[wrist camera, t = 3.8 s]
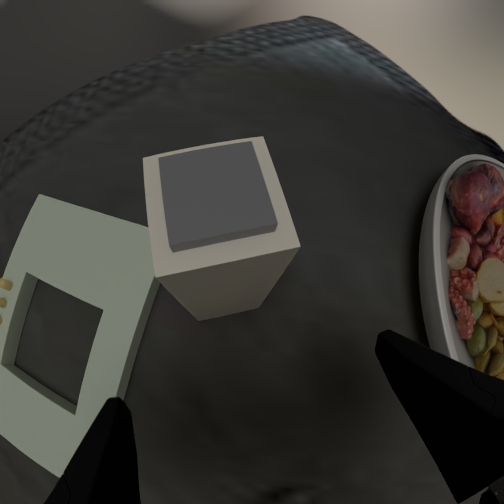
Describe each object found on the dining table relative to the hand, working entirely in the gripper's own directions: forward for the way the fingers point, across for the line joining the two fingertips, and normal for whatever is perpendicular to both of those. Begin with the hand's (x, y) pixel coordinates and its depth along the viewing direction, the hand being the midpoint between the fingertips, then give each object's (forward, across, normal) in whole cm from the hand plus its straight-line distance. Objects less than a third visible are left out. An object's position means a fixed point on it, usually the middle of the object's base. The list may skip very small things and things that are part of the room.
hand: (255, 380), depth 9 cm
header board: (+11, +14, +6) cm, 19 cm away
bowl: (+7, -29, +11) cm, 32 cm away
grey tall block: (+12, 0, +4) cm, 13 cm away
